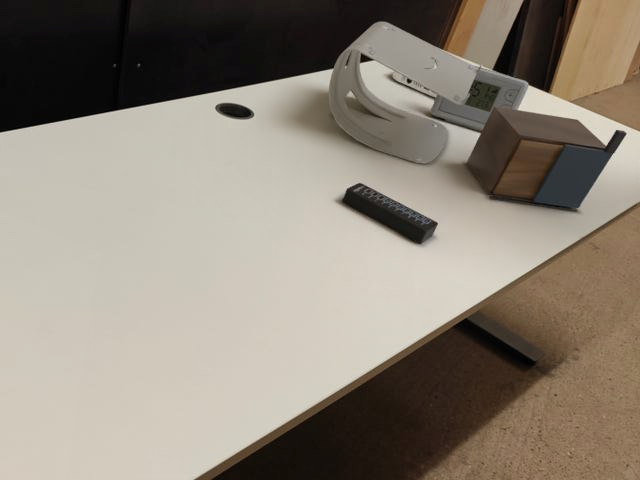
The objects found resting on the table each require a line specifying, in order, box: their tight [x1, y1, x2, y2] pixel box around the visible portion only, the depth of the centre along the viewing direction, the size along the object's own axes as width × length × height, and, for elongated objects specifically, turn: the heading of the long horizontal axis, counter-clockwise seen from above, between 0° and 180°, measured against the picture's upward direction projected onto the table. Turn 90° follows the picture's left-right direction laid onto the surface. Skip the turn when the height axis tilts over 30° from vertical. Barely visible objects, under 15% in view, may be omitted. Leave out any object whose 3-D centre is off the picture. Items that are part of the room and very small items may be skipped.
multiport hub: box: [341, 182, 439, 245], centre depth 105 cm, size 4×14×2 cm, turn 45°
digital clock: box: [430, 65, 529, 133], centre depth 139 cm, size 16×9×11 cm, turn 54°
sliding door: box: [531, 129, 628, 209], centre depth 113 cm, size 1×8×14 cm, turn 89°
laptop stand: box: [328, 21, 483, 165], centre depth 128 cm, size 26×24×16 cm
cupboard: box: [466, 106, 607, 213], centre depth 119 cm, size 14×16×11 cm
